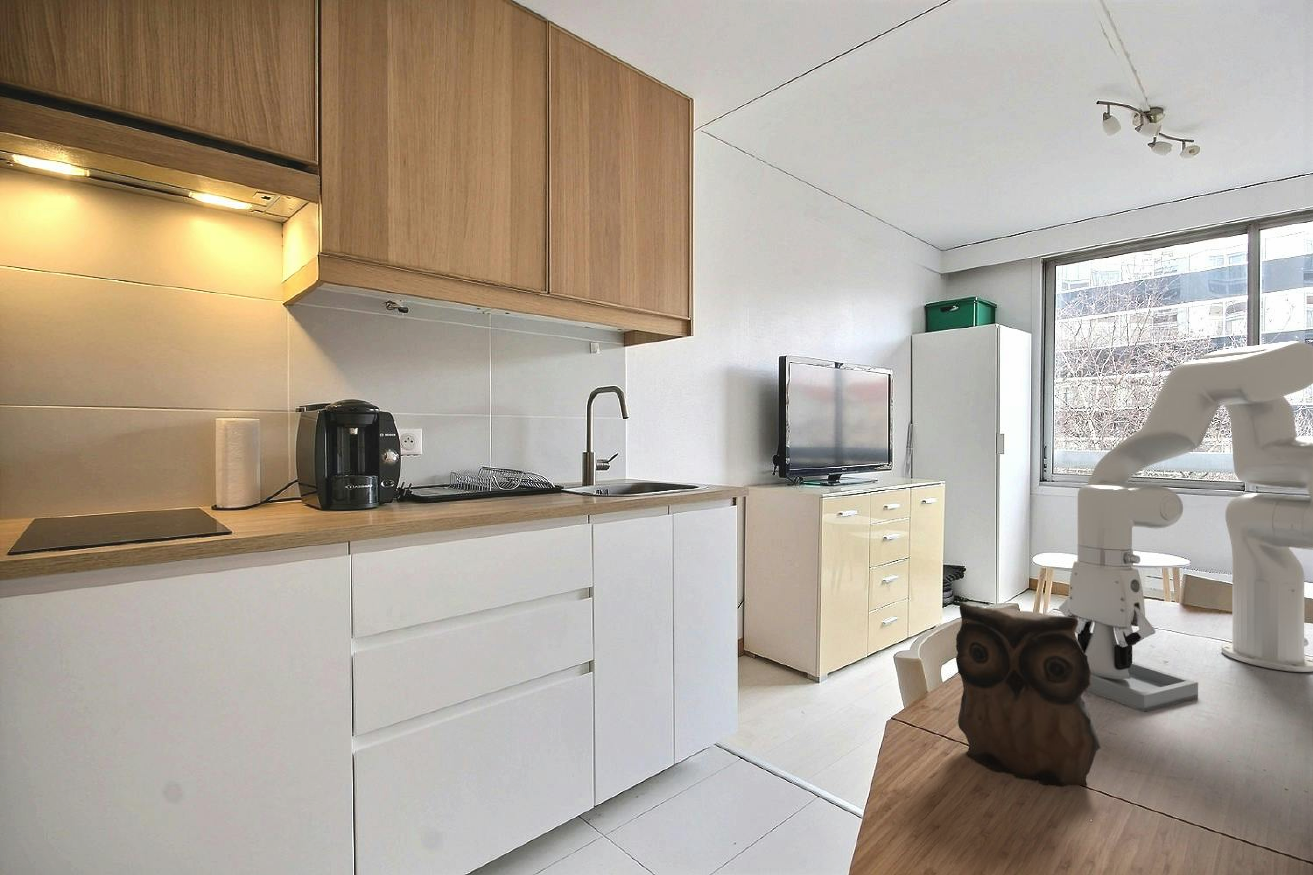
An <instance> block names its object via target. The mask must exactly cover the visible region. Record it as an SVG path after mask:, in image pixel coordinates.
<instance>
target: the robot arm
mask: <svg viewBox="0 0 1313 875" xmlns="http://www.w3.org/2000/svg"><path fill="white" fill-rule="evenodd" d="M1312 384H1313V345H1311V344H1309V343H1307V342H1304V341H1288V342H1287V341H1286V342H1284V341H1283V342H1277V343H1269V344H1261V345H1253V346H1251V345H1250V346H1244V347H1242V346H1241V347H1235V348H1228V349H1220V350H1216V351H1213V352H1210V353H1209V352H1208V353H1205V354H1204V355H1202V356H1200V357H1199V358H1197V360H1192V361H1186V362H1184V363H1183V362H1182V363H1180V364H1178V365H1177V366H1175V367H1174V368H1173V369H1172V370H1171V371H1170V372H1169V373H1168V375H1167V377H1166V379H1165V381H1164V383H1163V385H1162V387H1161V389H1160V391H1159V392H1158V395H1157V397H1156V400H1155V401H1154V403H1153V405H1152V408H1151V409H1150V411H1149V413H1148V416H1147V418H1146V420H1145V422H1144V423H1143V426H1142V427H1141V428H1140V429H1139V430H1138V431H1136V432H1135V433H1133V434H1132V435H1130V436H1128V437H1126V439H1124V440H1123V441H1121V442H1120V443H1119V444H1117V445H1116V446H1115V447H1114V448H1112V449H1111V450H1109V451H1108V452H1107V453H1105V455H1104V456H1103V457H1101V458H1100V459H1099V461H1098V462H1097V464H1096V465H1095V467H1094V469H1093V470H1092V473H1091V475H1090V476H1089V479H1088V480H1087V484H1086V485H1083V486H1082V487H1080V488H1079V489H1078V490H1077V491H1078V492H1077V560H1074V562H1073V564H1072V567H1071V573H1070V579H1069V586H1068V587H1069V588H1068V598H1067V599H1066V600H1065V601H1064V602H1063V603H1062V604H1061V605H1060V606H1059V607H1058V610H1059V611H1060V612H1061V613H1062V616H1067V617H1074V618H1076V619H1077V620H1078V626H1077V627H1076V629H1075V634H1077V635H1076V637H1077V640H1078V642H1079V644H1080V646H1081V648H1082V650H1083V652H1084V653H1085V650H1086V647H1087V645H1088V643H1089V640H1090V638H1091V636H1092V633H1093V632H1091V631H1092V627H1093V624H1094V622H1097V623H1100V624H1104V625H1108V626H1112V627H1114V633H1115V638H1116V641H1117V644H1118V645H1115V647H1114V666H1115V668H1116V669H1118V670H1123V669H1127V668H1130V666H1131V664H1132V662H1133V646H1135V645H1137V643H1139V642H1141V641H1143V640H1144V639H1146V638H1148V637H1150V636H1152V635H1154V634H1156V630H1155V628H1154V627H1153V625H1152V624H1151V623H1150V622H1149V620H1148V618H1147V617H1146V606H1145V599H1144V597H1145V596H1144V590H1143V583H1142V579H1141V577H1140V576H1141V575H1140V573H1139V572H1140V571H1139V570H1138V568H1136V567H1133V566H1134V564H1140V562H1141V557H1140V556H1139V555H1135V554H1134V549H1133V528H1134V527H1138V528H1146V529H1152V530H1153V529H1157V530H1159V529H1165V528H1167V527H1170V526H1173V525H1174V524H1176V523H1177V522H1178V521H1179V520H1180V519H1181V517H1182V515H1183V513H1184V505H1183V501H1182V499H1181V497H1180V496H1179V494H1178V493H1176V492H1175V491H1173V490H1172V489H1170V488H1168V487H1165V486H1162V485H1158V484H1157V485H1156V484H1146V483H1136V482H1135V483H1133V482H1129V480H1130V479H1131V478H1133V476H1134V475H1136V474H1138V473H1139V472H1140V471H1142V470H1144V469H1145V468H1148V467H1151V466H1152V465H1155V464H1158V463H1161V462H1164V461H1167V460H1171V459H1174V458H1177V457H1180V456H1182V455H1185V454H1189V453H1191V452H1193V451H1195V450H1196V449H1198V448H1199V447H1200V445H1201V444H1202V443H1203V440H1204V438H1205V436H1206V434H1207V432H1208V430H1209V428H1210V425H1211V423H1212V421H1213V419H1214V417H1215V414H1216V413H1217V411H1218V409H1219V408H1220V407H1223V406H1224V407H1225V409H1226V411H1227V414H1228V415H1229V420H1230V428H1231V431H1230V432H1231V444H1232V445H1231V446H1232V462H1233V468H1234V469H1233V470H1234V474H1235V475H1236V478H1237V479H1238V480H1239V481H1240V482H1242V483H1244V484H1246V485H1250V486H1254V487H1256V486H1257V487H1264V488H1265V487H1266V488H1280V489H1292V490H1293V489H1295V490H1307V492H1308V495H1309V496H1302V495H1301V496H1299V495H1293V494H1292V495H1291V494H1278V493H1263V492H1260V493H1259V492H1258V493H1256V492H1255V493H1253V492H1252V493H1245V494H1241V495H1238V496H1236V497H1234V498H1232V500H1230V501H1229V503H1228V504H1227V506H1226V508H1225V515H1224V516H1225V522H1226V527H1227V531H1228V534H1229V539H1230V544H1231V555H1232V630H1231V631H1232V633H1231V634H1232V635H1231V636H1232V639H1231V640H1232V642H1230V643H1225V644H1222V645H1221V652H1222V653H1223V654H1224V655H1225V656H1227V657H1229V658H1231V659H1233V660H1236V661H1239V662H1242V663H1245V664H1249V665H1252V666H1256V667H1261V668H1266V669H1271V670H1277V671H1285V672H1292V673H1294V672H1295V673H1312V672H1313V659H1312V658H1310V657H1308V656H1306V655H1305V647H1307V646H1308V645H1309V640H1308V639H1307V638H1305V579H1306V578H1305V570H1304V567H1303V565H1302V563H1301V562H1300V560H1299V559H1298V557H1297V556H1296V554H1294V552H1293V550H1292V549H1291V548H1295V549H1303V550H1309V551H1310V550H1311V551H1313V436H1298V434H1297V431H1296V424H1295V414H1294V410H1293V408H1292V406H1291V405H1292V404H1291V403H1290V402H1289V401H1288V400H1287V398H1286V397H1285V396H1288V395H1291V394H1293V393H1296V392H1300V391H1302V390H1304V389H1307V388H1309V387H1310V386H1312ZM1133 627H1138V630H1136V631H1134V630H1133Z"/></svg>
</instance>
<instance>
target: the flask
mask: <svg viewBox="0 0 1313 875" xmlns="http://www.w3.org/2000/svg"><path fill="white" fill-rule="evenodd" d="M1093 624H1094V626H1093V630H1092V632H1091V633H1092V636H1091V638H1090V640H1089V643H1088V645H1087V647H1086V650H1085V654H1086V656H1088V658H1087V659H1088V663H1089V667H1090V671H1091V674H1092V675H1094V676H1099V677H1105V678H1111V679H1131V677H1130V675H1129V672H1128V670H1127V669H1123V670H1118V669H1116V668H1115V666H1114V647H1115V645H1118V640H1117V637H1116V634H1115V631H1114V627H1112V626H1108V625H1104V624H1100V623H1097V622H1093Z"/></svg>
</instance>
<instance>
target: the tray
mask: <svg viewBox="0 0 1313 875" xmlns="http://www.w3.org/2000/svg"><path fill="white" fill-rule="evenodd" d="M1127 670H1128V672H1129V675H1130V677H1131V679H1111V678H1105V677H1099V676H1094V675H1092V674H1091V675H1090V683H1091V685H1090V686H1089V687H1088V688H1087V689H1086V690H1085V691H1087V692H1089V693H1093V694H1095V695H1097V696H1101V697H1103V698H1106V699H1108V700H1110V701H1111V700H1112V701H1114V702H1116V703H1119V704H1122V705H1124V706H1126V707H1130V708H1133V709H1135V710H1138V711H1140V712H1143V713H1146V712H1150V711H1153V710H1157V709H1161V708H1165V707H1169V706H1173V705H1176V704H1177V705H1178V704H1179V703H1183V702H1187V701H1192V700H1196V699H1198V698H1199V682H1198V681H1194V680H1191V679H1189V678H1185V677H1182V676H1178V675H1176V674H1173V673H1172V674H1171V673H1170V672H1166V671H1163V670H1159V669H1156V668H1153V667H1149V666H1147V665H1144V664H1140V663H1137V662H1133V661H1132V664H1131V666H1130V668H1127Z"/></svg>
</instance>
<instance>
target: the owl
mask: <svg viewBox="0 0 1313 875" xmlns="http://www.w3.org/2000/svg"><path fill="white" fill-rule="evenodd" d="M959 614H960V618H961V623H960V624H961V625H960V627H959V628H960V629H959V631H958V632H957V634H956V638H955V640H956V641H955V643H956V645H955V648H956V652H957V654H956V656H955V662H956V666H957V672H958V674H959V676H960V678H961V682H962V687H963V689H962V690H963V691H962V695H961V699H960V708H959V714H958V717H957V718H958V719H957V725H958V728H959V729H960V731H961V732H963V734H964V735H965V737H966V740H967V743H968V749H967V751H966V753H965V754H966V756H967V758H969V759H970V760H972V761H974V762H975V763H977V764H978V765H980V766H982V767H984V768H985V769H986V770H990V771H991V772H995V773H1000V774H1001V773H1002V774H1003V773H1004V774H1009V775H1012V776H1014V778H1016V779H1020V780H1030V781H1034V782H1037V783H1038V784H1040V785H1043V786H1045V787H1046V786H1054V787H1065V786H1083V787H1084V786H1085V787H1086V786H1088V781H1087V776H1088V775H1089V773H1090V770H1091V768H1092V765H1093V763H1094V760H1095V756H1096V753H1097V751H1098V750H1099V749H1101V745H1100V742H1099V738H1098V735H1097V733H1096V729H1095V728H1094V725H1093V722H1092V719H1091V715H1090V714H1089V712H1088V709H1087V707H1086V702H1085V701H1086V700H1084V699H1083V698H1082V696H1083V694H1084V693H1085V691H1087V690H1086V689H1087V688H1088V687H1089V686H1090V685H1091V683H1090V675H1091V671H1090V667H1089V663H1088V659H1087V658H1088V656H1086V654H1085V653H1084V652H1083V650H1082V648H1081V646H1080V644H1079V642H1078V640H1077V635H1076V633H1075V629H1076V627H1077V626H1078V620H1077V619H1076V618H1074V617H1067V616H1064V615H1052V614H1046V613H1042V612H1035V611H1029V610H1017V609H1013V608H1008V607H1007V608H1005V607H1004V608H1003V607H1002V608H999V607H998V608H995V607H983V606H979V605H970V604H967V603H966V602H965V601H962V602H960V603H959Z"/></svg>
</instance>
